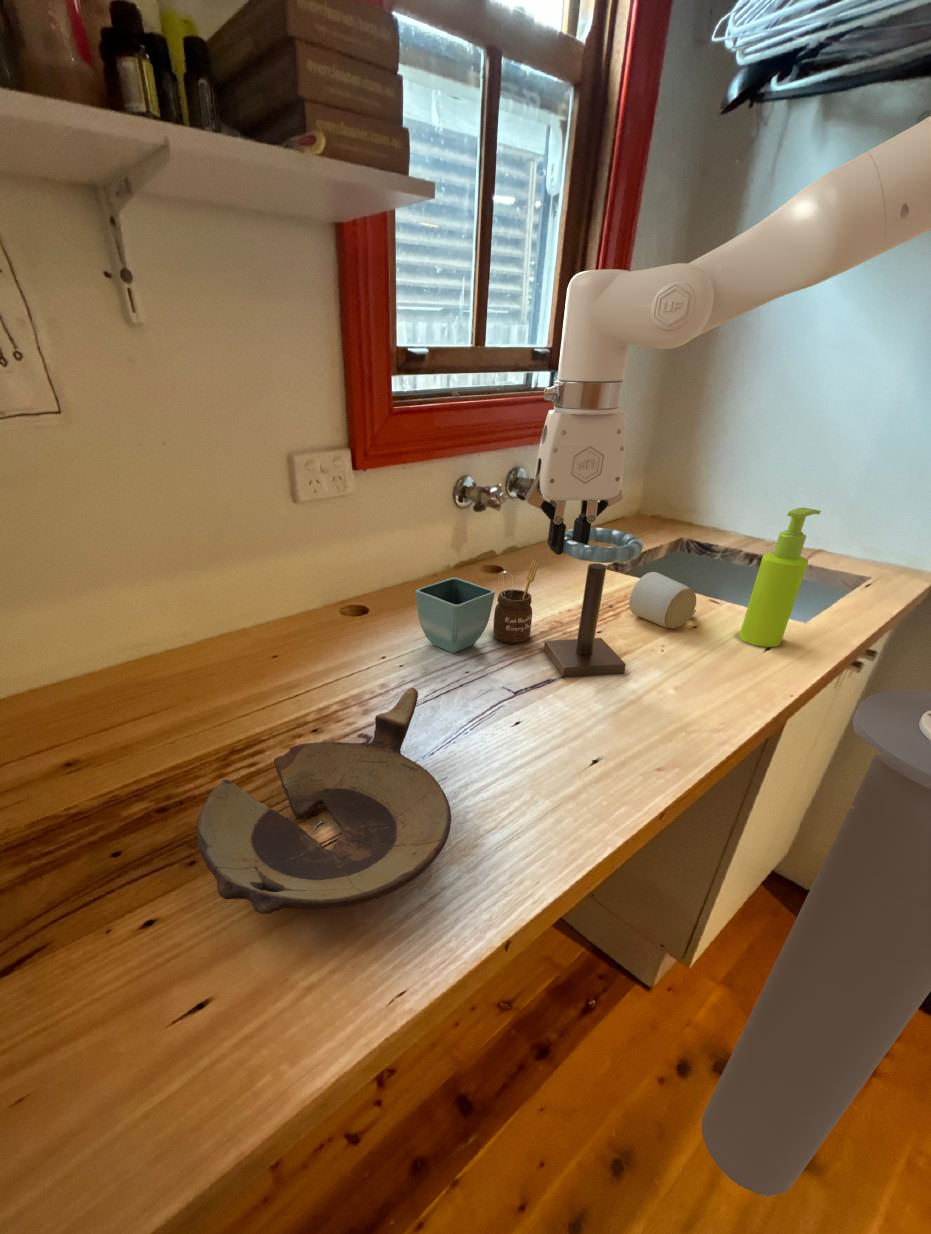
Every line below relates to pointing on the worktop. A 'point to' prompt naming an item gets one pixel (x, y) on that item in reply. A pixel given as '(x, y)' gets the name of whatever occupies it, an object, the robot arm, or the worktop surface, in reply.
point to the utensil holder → (514, 612)
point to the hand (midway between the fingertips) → (566, 550)
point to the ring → (621, 552)
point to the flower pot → (454, 612)
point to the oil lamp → (358, 802)
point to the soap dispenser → (777, 585)
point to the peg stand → (586, 637)
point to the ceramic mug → (662, 600)
